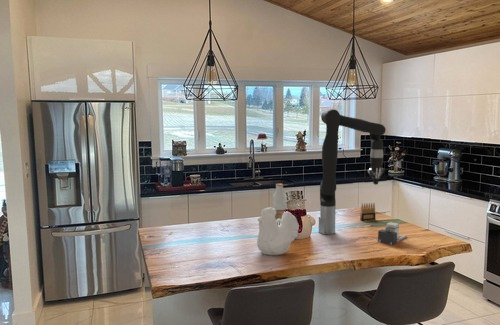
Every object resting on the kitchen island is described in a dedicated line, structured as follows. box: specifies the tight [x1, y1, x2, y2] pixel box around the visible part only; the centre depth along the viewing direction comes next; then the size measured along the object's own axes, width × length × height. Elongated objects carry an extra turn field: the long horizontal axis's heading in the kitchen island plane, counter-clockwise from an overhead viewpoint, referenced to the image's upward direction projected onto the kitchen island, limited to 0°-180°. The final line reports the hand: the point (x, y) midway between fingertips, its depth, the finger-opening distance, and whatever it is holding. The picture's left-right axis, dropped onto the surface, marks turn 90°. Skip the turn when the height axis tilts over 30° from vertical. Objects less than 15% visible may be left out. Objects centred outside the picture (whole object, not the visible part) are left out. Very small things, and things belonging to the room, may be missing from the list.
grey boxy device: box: [377, 225, 408, 246], centre depth 224 cm, size 18×9×10 cm, turn 134°
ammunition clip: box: [359, 202, 376, 222], centre depth 272 cm, size 11×2×12 cm, turn 104°
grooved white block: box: [385, 221, 400, 238], centre depth 223 cm, size 5×5×9 cm
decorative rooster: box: [256, 207, 300, 256], centre depth 208 cm, size 25×16×25 cm, turn 108°
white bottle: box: [271, 183, 288, 225], centre depth 257 cm, size 9×9×28 cm
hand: (375, 184), depth 246 cm, fingers closed
